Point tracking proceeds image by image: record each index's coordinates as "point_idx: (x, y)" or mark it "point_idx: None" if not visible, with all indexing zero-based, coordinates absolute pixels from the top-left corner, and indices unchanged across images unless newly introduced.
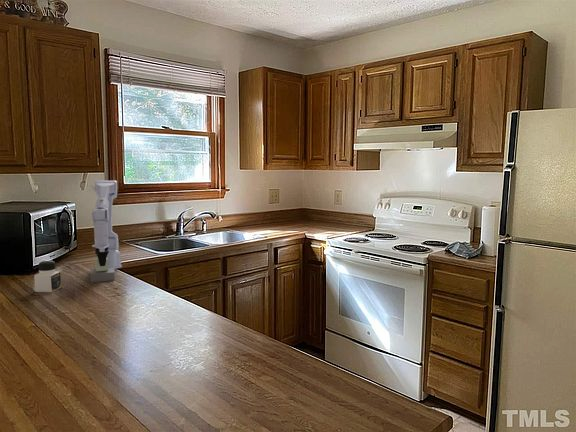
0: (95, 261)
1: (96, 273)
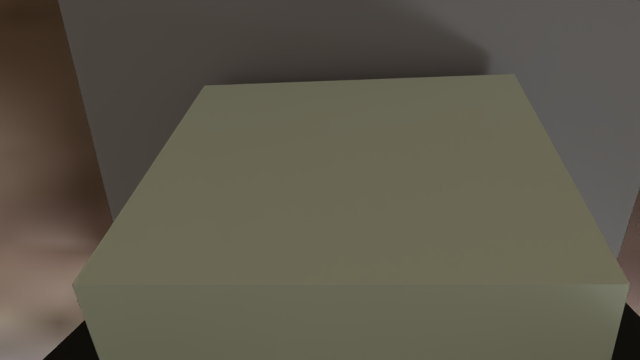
0: (93, 261)
1: (84, 91)
